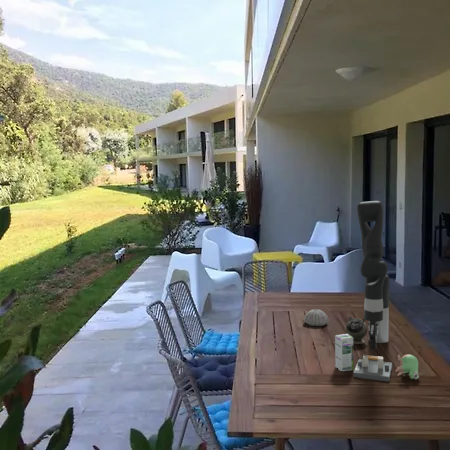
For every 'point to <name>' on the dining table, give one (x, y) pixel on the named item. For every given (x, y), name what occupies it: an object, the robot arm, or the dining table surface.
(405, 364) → the frog
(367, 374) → the breaker panel
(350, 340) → the syrup box
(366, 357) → the breaker paddles
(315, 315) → the sea urchin shell
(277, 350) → the dining table surface
